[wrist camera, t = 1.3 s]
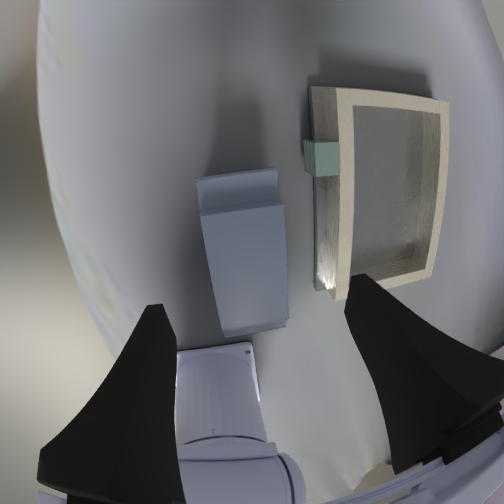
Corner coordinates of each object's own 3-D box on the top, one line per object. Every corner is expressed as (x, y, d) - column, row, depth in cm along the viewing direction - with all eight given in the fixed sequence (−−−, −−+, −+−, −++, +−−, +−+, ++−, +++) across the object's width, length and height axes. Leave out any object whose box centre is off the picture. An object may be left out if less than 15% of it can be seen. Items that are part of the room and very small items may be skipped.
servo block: (270, 289, 22) (289, 336, 18) (219, 297, 22) (225, 348, 17) (260, 157, 18) (282, 173, 13) (197, 165, 17) (194, 185, 13)
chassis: (419, 263, 24) (436, 277, 22) (304, 288, 23) (315, 308, 20) (432, 98, 17) (454, 100, 15) (296, 87, 16) (310, 83, 14)
